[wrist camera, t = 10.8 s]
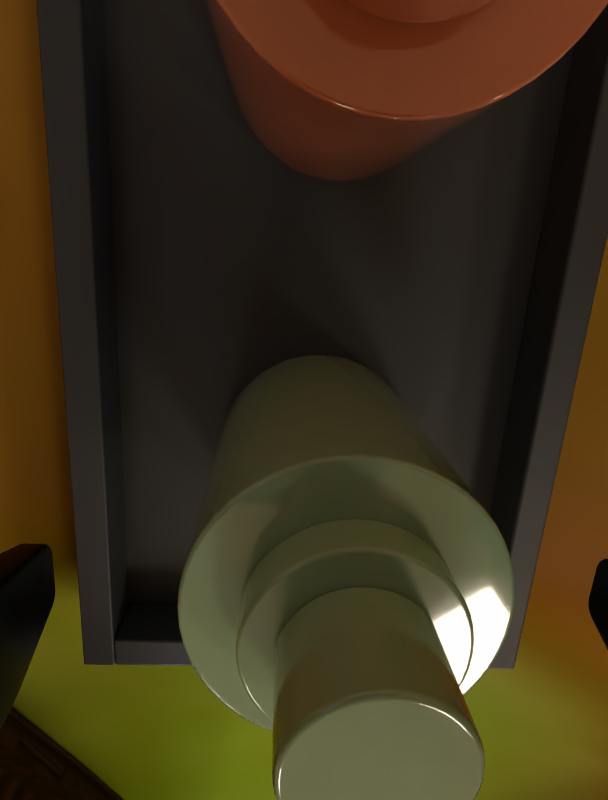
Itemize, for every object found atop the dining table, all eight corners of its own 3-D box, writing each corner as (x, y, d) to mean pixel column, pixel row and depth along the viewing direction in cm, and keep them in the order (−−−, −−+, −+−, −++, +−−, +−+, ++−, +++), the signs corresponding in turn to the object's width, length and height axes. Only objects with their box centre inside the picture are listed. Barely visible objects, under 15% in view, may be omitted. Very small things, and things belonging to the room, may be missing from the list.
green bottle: (421, 359, 13) (680, 574, 5) (399, 533, 15) (566, 938, 6) (223, 349, 13) (121, 560, 4) (219, 528, 15) (137, 947, 6)
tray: (797, -1011, 8) (969, -1424, 6) (486, 618, 17) (514, 670, 15) (10, -1191, 7) (-92, -1733, 5) (108, 611, 16) (83, 665, 14)
